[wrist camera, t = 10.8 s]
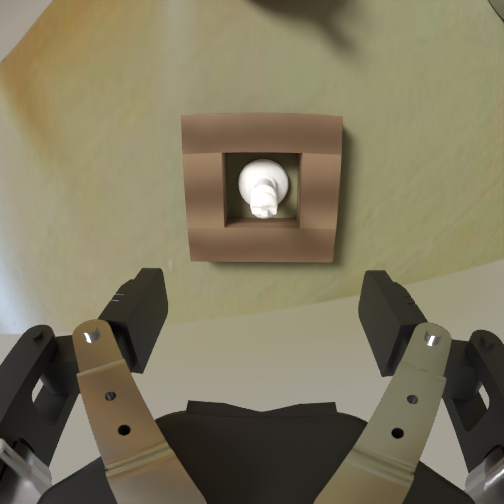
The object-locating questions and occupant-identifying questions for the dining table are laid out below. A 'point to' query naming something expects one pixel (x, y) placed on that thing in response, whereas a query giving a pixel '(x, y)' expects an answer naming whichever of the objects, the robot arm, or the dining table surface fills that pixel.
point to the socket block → (257, 229)
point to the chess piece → (263, 186)
